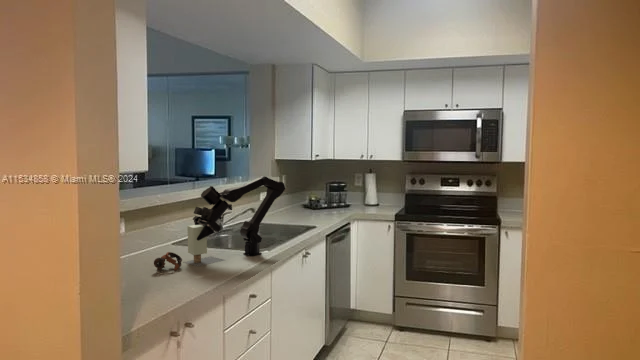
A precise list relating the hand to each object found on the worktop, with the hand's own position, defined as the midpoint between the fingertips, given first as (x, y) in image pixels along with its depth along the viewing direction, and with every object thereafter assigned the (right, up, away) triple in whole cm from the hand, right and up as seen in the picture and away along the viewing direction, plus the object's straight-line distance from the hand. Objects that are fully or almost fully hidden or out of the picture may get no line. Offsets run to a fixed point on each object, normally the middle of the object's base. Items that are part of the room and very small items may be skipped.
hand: (194, 238), depth 210 cm
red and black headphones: (-9, -12, -10) cm, 18 cm away
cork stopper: (+1, -11, +2) cm, 11 cm away
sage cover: (+1, -7, +1) cm, 7 cm away
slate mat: (+4, -11, +3) cm, 12 cm away
